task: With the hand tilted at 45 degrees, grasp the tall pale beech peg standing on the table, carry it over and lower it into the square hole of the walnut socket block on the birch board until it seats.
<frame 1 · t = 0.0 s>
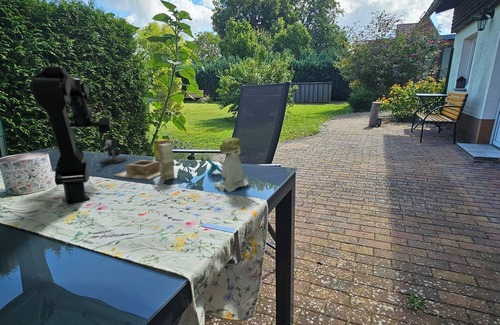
hand: (89, 140, 117), 15 cm above the table, tool tilted 35°, fingers open, 9 cm apart
peg: (167, 177, 117), on the table
socket: (144, 173, 124), on the table
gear: (215, 175, 120), on the table
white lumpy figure: (231, 186, 106), on the table
gun turret: (112, 163, 143), on the table
supplement box: (163, 160, 148), on the table
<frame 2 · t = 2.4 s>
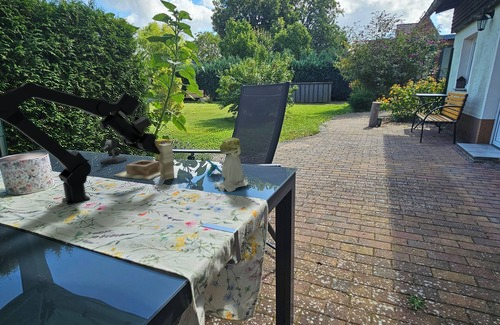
hand: (153, 152, 110), 12 cm above the table, tool tilted 45°, fingers open, 9 cm apart
nothing on the table moved.
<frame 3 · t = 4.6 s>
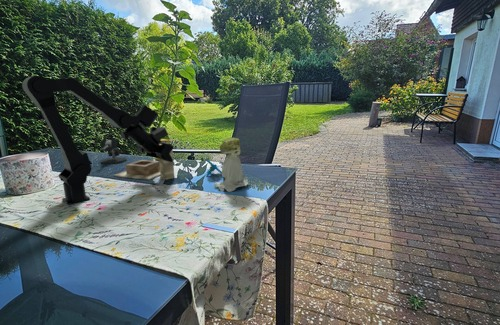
hand: (169, 160, 116), 7 cm above the table, tool tilted 45°, fingers closed on peg, 4 cm apart
peg: (167, 177, 117), on the table, touching gripper
everything else where it was.
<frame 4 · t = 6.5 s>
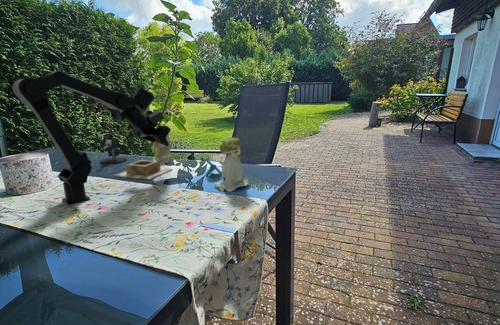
hand: (165, 144, 116), 13 cm above the table, tool tilted 45°, fingers closed on peg, 4 cm apart
peg: (163, 162, 116), point 6 cm above the table, touching gripper
everything else where it was.
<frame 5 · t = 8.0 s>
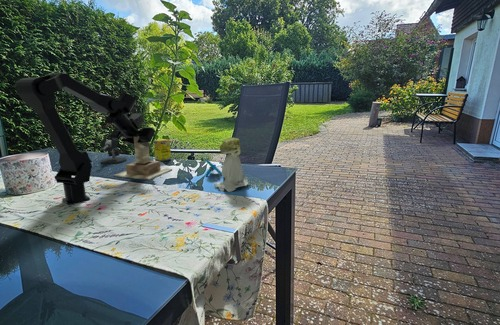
hand: (143, 145, 122), 12 cm above the table, tool tilted 45°, fingers closed on peg, 4 cm apart
peg: (143, 162, 122), point 5 cm above the table, touching gripper
everything else where it was.
when the fingers open (9 cm above the table, at t = 8.9 s): peg drops 1 cm, resting on socket.
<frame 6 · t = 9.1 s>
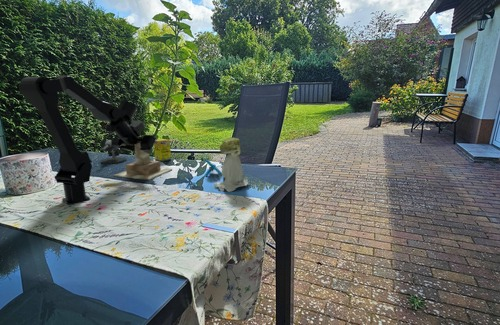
hand: (144, 152, 123), 9 cm above the table, tool tilted 45°, fingers open, 6 cm apart
peg: (144, 171, 123), point 1 cm above the table, touching socket
everything else where it was.
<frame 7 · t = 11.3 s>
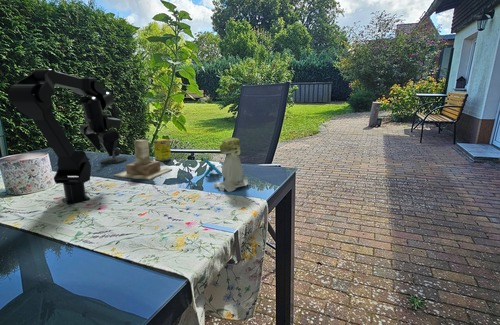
hand: (104, 152, 108), 12 cm above the table, tool pointing down, fingers open, 9 cm apart
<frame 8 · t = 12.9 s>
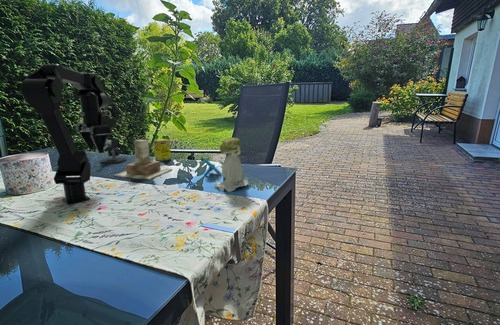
hand: (96, 151, 106), 13 cm above the table, tool pointing down, fingers open, 9 cm apart
at the end: peg 0.1 cm off-centre on the socket, point 0.6 cm above the socket's base; peg tilted 0°; the gripper is holding nothing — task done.
